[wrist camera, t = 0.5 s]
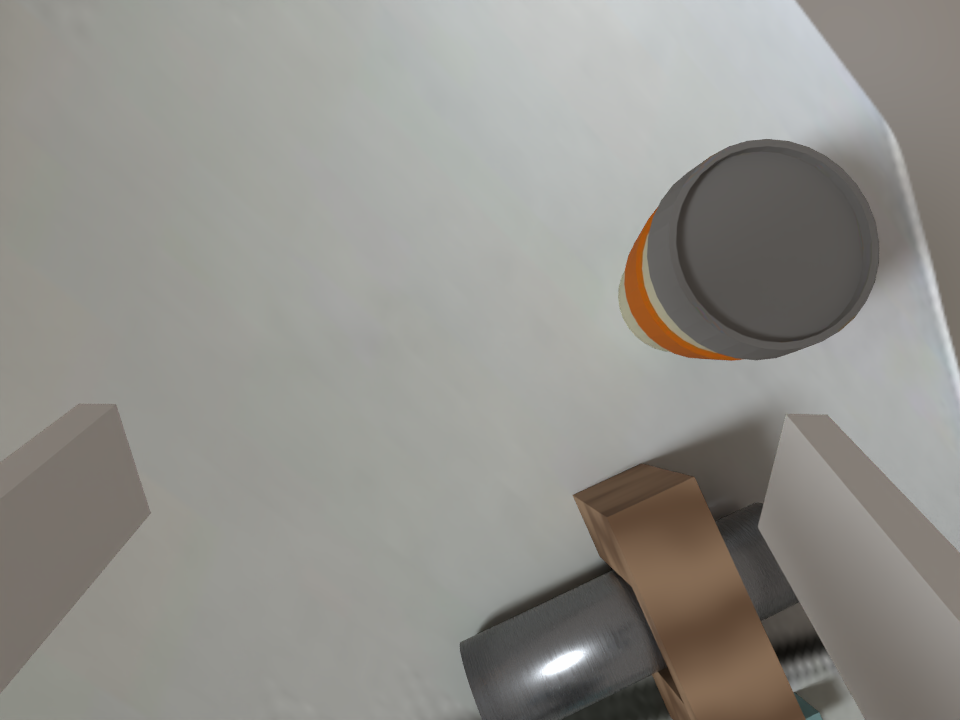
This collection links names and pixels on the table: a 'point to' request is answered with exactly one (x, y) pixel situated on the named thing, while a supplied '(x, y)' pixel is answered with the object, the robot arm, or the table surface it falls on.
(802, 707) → the v-blocks
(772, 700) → the brown wooden arched block
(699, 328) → the reusable coffee cup
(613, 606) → the steel axle
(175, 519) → the table surface
